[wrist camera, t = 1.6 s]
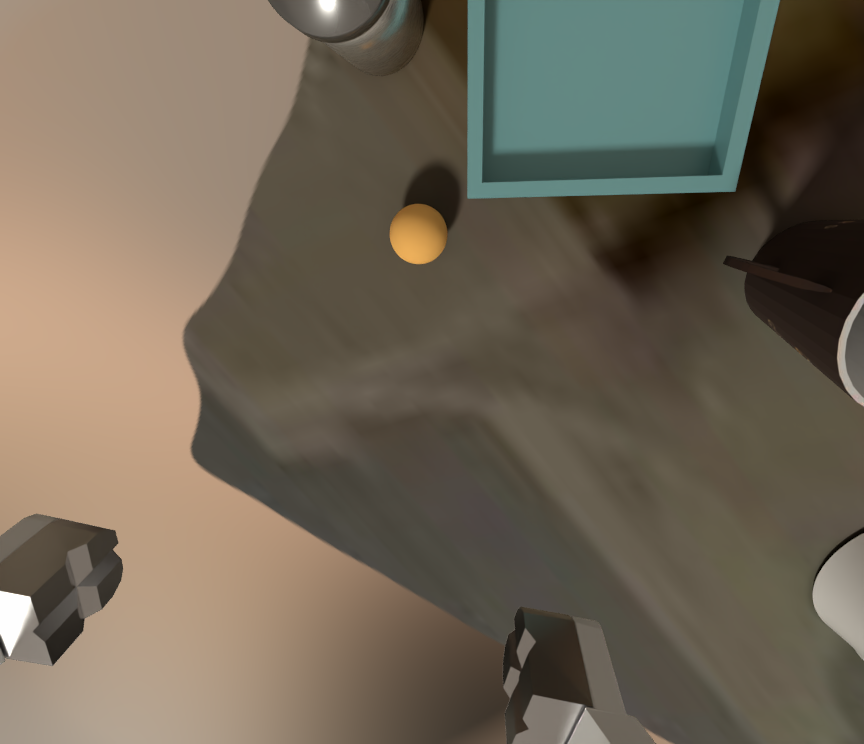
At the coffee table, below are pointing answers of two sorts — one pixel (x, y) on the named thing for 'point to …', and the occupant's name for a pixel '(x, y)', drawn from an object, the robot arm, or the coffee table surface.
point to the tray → (612, 94)
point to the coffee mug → (814, 295)
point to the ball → (418, 233)
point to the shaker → (360, 29)
